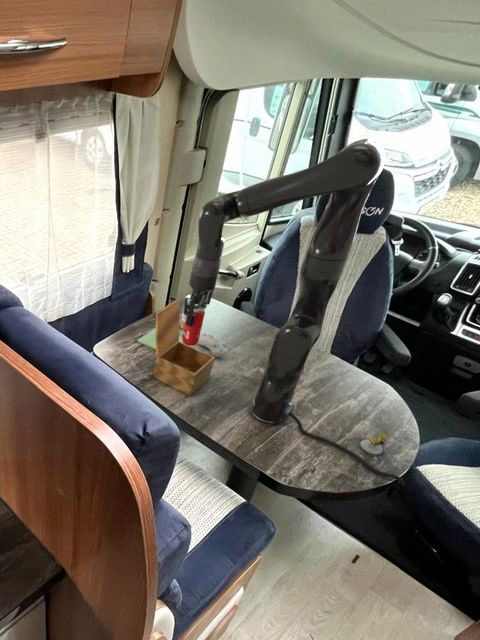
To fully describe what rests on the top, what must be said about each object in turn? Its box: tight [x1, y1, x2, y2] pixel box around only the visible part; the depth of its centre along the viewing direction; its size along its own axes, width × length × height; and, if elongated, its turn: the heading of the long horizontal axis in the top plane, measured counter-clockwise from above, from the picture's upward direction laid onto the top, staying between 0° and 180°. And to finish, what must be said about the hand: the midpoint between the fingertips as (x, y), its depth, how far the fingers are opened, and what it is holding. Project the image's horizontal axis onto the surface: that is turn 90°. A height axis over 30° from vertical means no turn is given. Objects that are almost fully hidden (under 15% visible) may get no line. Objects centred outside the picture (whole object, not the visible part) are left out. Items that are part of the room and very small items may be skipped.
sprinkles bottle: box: [179, 294, 197, 330], centre depth 173 cm, size 5×5×14 cm
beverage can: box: [181, 304, 206, 347], centre depth 139 cm, size 5×5×12 cm
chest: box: [152, 341, 216, 396], centre depth 149 cm, size 14×13×9 cm
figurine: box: [359, 427, 388, 456], centre depth 125 cm, size 6×6×8 cm
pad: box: [137, 327, 184, 351], centre depth 169 cm, size 14×14×1 cm
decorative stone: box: [196, 333, 230, 358], centre depth 163 cm, size 13×7×5 cm, turn 39°
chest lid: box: [155, 298, 181, 357], centre depth 146 cm, size 15×13×1 cm
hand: (194, 321), depth 138 cm, fingers closed on beverage can, 5 cm apart
